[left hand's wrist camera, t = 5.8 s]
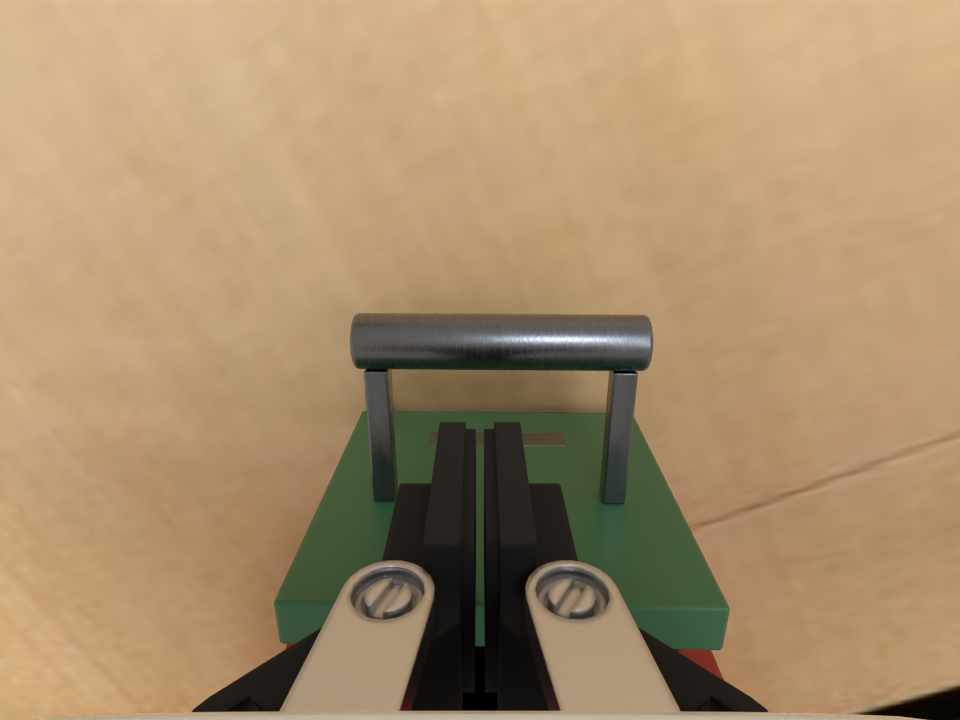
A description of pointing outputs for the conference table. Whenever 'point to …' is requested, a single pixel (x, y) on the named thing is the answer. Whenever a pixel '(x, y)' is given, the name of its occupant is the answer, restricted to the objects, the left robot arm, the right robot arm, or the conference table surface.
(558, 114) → the conference table surface
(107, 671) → the conference table surface
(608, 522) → the drawer
